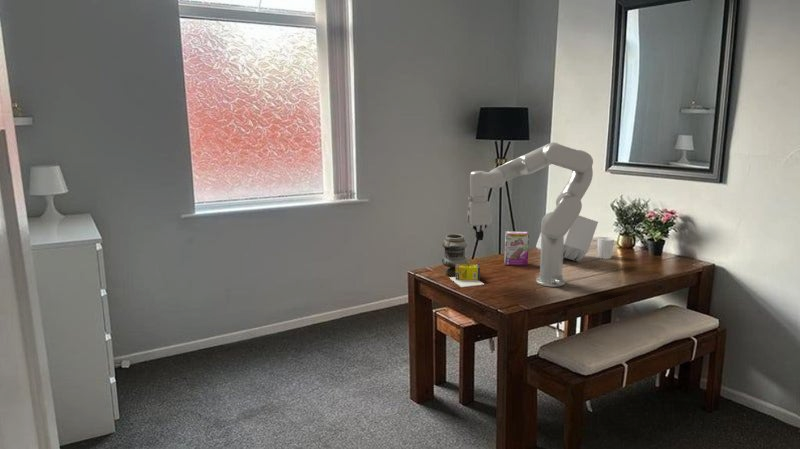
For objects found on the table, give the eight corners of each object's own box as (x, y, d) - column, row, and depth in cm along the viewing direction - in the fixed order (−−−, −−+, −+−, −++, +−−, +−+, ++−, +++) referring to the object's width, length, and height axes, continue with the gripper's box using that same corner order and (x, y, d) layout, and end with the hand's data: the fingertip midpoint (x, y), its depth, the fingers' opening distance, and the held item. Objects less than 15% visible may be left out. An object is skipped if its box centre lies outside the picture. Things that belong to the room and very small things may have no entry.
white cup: (593, 256, 281) (594, 237, 279) (604, 254, 284) (605, 236, 282) (604, 260, 274) (605, 241, 272) (616, 258, 277) (617, 239, 275)
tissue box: (532, 252, 280) (547, 206, 278) (555, 259, 286) (570, 214, 284) (557, 262, 261) (574, 213, 259) (581, 269, 268) (598, 221, 266)
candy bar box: (505, 265, 267) (506, 233, 263) (504, 262, 272) (505, 231, 268) (528, 265, 266) (529, 233, 262) (526, 263, 271) (527, 231, 267)
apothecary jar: (447, 277, 250) (447, 239, 246) (438, 270, 261) (438, 233, 258) (471, 274, 253) (471, 237, 249) (461, 267, 264) (461, 232, 261)
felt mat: (484, 284, 238) (484, 284, 238) (461, 287, 235) (461, 286, 235) (471, 275, 251) (471, 275, 251) (449, 278, 248) (449, 277, 248)
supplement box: (479, 267, 242) (455, 267, 243) (479, 280, 243) (455, 279, 245) (479, 263, 248) (455, 263, 249) (479, 276, 249) (455, 276, 250)
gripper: (466, 202, 231) (467, 243, 235) (498, 198, 235) (498, 239, 239) (459, 199, 238) (460, 239, 242) (490, 196, 242) (491, 236, 246)
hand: (479, 239), depth 241 cm, fingers closed
